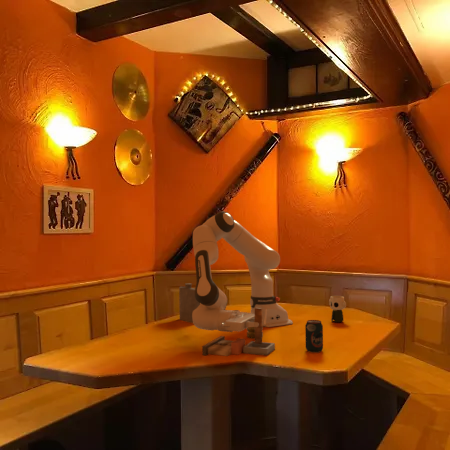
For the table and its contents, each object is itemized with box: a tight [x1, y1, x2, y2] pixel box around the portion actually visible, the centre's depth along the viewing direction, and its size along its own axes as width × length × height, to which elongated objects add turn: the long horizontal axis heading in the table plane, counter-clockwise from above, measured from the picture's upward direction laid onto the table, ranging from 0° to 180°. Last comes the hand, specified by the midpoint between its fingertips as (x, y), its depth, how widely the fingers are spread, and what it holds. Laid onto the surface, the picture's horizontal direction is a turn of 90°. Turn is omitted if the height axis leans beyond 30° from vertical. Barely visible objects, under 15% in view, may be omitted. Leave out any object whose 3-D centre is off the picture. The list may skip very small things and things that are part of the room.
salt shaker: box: [246, 326, 264, 340], centre depth 229 cm, size 7×7×10 cm
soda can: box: [304, 319, 324, 354], centre depth 204 cm, size 7×7×12 cm
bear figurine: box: [328, 295, 347, 323], centre depth 261 cm, size 11×7×13 cm, turn 38°
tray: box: [242, 340, 276, 356], centre depth 204 cm, size 10×10×2 cm
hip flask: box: [178, 282, 201, 324], centre depth 266 cm, size 16×4×20 cm, turn 41°
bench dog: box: [230, 337, 246, 355], centre depth 203 cm, size 3×8×4 cm, turn 157°
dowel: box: [254, 308, 263, 344], centre depth 204 cm, size 3×3×14 cm
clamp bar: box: [201, 335, 226, 356], centre depth 208 cm, size 2×19×4 cm, turn 157°
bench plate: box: [208, 339, 234, 357], centre depth 206 cm, size 10×14×2 cm
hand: (260, 323), depth 204 cm, fingers closed on dowel, 3 cm apart
